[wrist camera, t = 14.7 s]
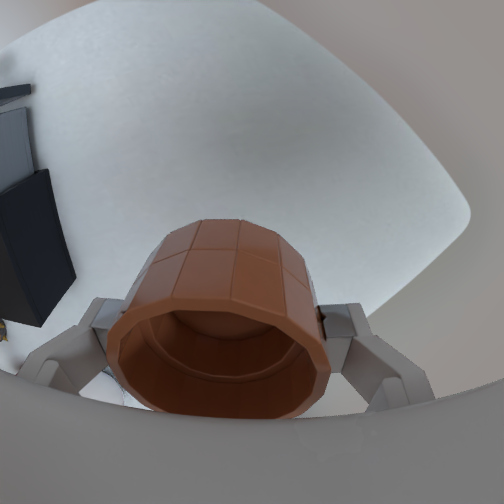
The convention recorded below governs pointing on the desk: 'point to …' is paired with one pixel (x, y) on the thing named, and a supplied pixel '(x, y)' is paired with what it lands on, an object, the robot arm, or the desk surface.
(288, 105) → the desk surface
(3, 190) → the drawer
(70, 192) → the desk surface
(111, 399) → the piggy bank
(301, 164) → the desk surface
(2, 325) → the mug
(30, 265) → the black drawer cabinet
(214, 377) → the terracotta cup
